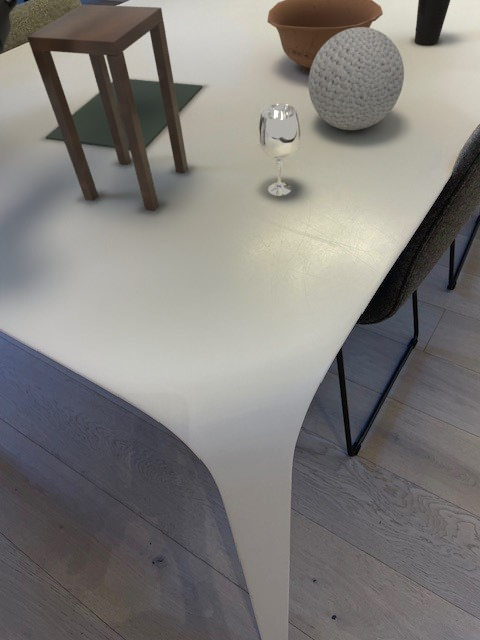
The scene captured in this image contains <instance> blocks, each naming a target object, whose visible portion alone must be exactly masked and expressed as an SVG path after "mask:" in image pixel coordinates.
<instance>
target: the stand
mask: <svg viewBox="0 0 480 640" xmlns="http://www.w3.org/2000/svg"><path fill="white" fill-rule="evenodd" d="M148 33H149V35H150V36H149V37H150V39H151V45H152V51H153V56H154V62H155V67H156V73H157V77H158V82H159V84H160V89H161V94H162V100H163V105H164V110H165V116H166V121H167V126H166V127H167V131H168V137H169V142H170V147H171V153H172V159H173V163H174V168H175V169H174V170H175V172H176V173H179V174H185V173H186V172H187V171H188V169H189V166H188V160H187V154H186V148H185V142H184V136H183V129H182V124H181V123H182V122H181V118H180V112H179V111H178V105H177V99H176V93H175V87H174V83H175V82H174V76H173V70H172V69H173V68H172V64H171V58H170V52H169V51H170V50H169V47H168V39H167V34H166V33H167V32H166V27H165V22H164V17H163V9H162V7H156V6H128V5H103V4H80V5H79V6H77V7H75V8H73V9H72V10H70V11H68V12H67V13H64V14H63V15H62V16H60V17H58V18H56V19H54V20H53V21H52V22H50V23H48V24H46V25H45V26H43V27H41V28H39V29H37V30H36V31H34V32H32V33H31V34H29V35H27V37H26V38H27V41H28V44H29V47H30V49H31V53H32V55H33V58H34V61H35V63H36V66H37V70H38V72H39V75H40V77H41V78H40V79H41V81H42V84H43V86H44V88H45V92H46V95H47V97H48V100H49V102H50V105H51V108H52V111H53V113H54V117H55V119H56V122H57V125H58V126H59V128H60V131H61V134H62V136H63V139H64V141H63V142H64V144H65V145H64V146H65V147H66V150H67V153H68V156H69V159H70V161H71V164H72V167H73V170H74V172H75V175H76V178H77V181H78V184H79V186H80V189H81V192H82V195H83V198H84V200H85V201H92V202H94V201H95V200H96V198H98V196H99V193H98V191H97V188H96V185H95V182H94V178H93V176H92V172H91V169H90V166H89V163H88V160H87V158H86V154H85V152H84V148H83V144H81V142H80V139H79V136H78V133H77V130H76V127H75V124H74V121H73V118H72V115H73V114H72V112H71V109H70V106H69V103H68V99H67V97H66V94H65V90H64V89H63V85H62V82H61V79H60V75H59V73H58V70H57V67H56V63H55V61H54V58H53V55H52V52H56V53H69V54H82V55H83V54H84V55H88V57H89V61H90V65H91V67H92V72H93V75H94V78H95V82H96V86H97V89H98V93H100V97H101V100H102V104H103V107H104V111H105V114H106V118H107V122H108V125H109V129H110V132H111V136H112V139H113V143H114V147H115V148H114V150H115V153H116V158H117V160H118V165H122V166H123V165H125V166H127V165H129V163H130V162H131V161H132V162H133V167H134V171H135V175H136V179H137V182H138V186H139V190H140V194H141V198H142V201H143V206H144V209H145V210H146V211H148V212H149V211H151V212H155V211H156V210H157V208H158V207H159V206H160V205H159V202H158V196H157V192H156V187H155V184H154V183H155V182H154V179H153V175H152V171H151V167H150V166H151V165H150V162H149V157H148V153H147V147H146V148H145V144H144V140H143V135H142V131H141V127H140V122H139V118H138V114H137V109H136V105H135V100H134V96H133V92H132V87H131V83H130V79H131V78H130V75H129V70H128V67H127V61H126V57H125V53H124V51H126V50H127V49H128V48H129V47H131V46H132V45H133V44H135V43H136V42H137V41H139V40H140V39H141V38H142V37H145V35H146V34H148ZM106 61H107V62H106ZM109 72H110V73H109ZM110 76H111V77H110ZM112 82H113V84H114V88H115V92H116V96H117V100H118V104H119V108H120V112H121V116H122V120H123V124H124V127H125V131H126V135H127V139H128V143H129V147H130V150H128V146H127V142H126V138H125V135H124V131H123V127H122V123H121V119H120V115H119V111H118V107H117V104H116V100H115V96H114V92H113V88H112V84H111V83H112ZM130 154H131V155H130Z"/></svg>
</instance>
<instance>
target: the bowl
mask: <svg viewBox="0 0 480 640" xmlns="http://www.w3.org/2000/svg"><path fill="white" fill-rule="evenodd" d="M383 13H384V12H383V9H382V7H381V5H379V4H378V3H376V1H374V0H281V1H279V2H277V3H276V4H275V5H273V6H272V8H271V9H269V10H268V13H267V23H268V24H270V25H271V26H272V27H274V28H275V29H276V30H277V33H278V36H279V39H280V44H281V46H282V49H283V53H284V54H285V55H286V56H287V57H288V58H289V59H290V60H292V61H293V62H294V63H295V64H297V65H299V69H300V71H301V72H302V73H304V74H307V75H309V74H310V70H311V66H312V64H313V61H314V59H315V57H316V55H317V53H318V51H319V50H320V49H321V47H322V46H323V45H324V44H325V43H326V42H327V41H328V40H329V39H330V38H332V37H333V36H335V35H336V34H338V33H340V32H342V31H344V30H347V29H350V28H356V27H367V28H371V25H372V23H373V22H376V21H377V20H378V19H379V18H380V17H381V16H383Z"/></svg>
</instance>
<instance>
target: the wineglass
mask: <svg viewBox="0 0 480 640" xmlns="http://www.w3.org/2000/svg"><path fill="white" fill-rule="evenodd" d="M300 126H301V125H300V121H299V116H298V112H297V109H296V107H295V106H293V105H291V104H288V103H273V104H269V105H266V106H264V107H263V108H262V109H261V111H260V116H259V120H258V126H257V142H258V146H259V149H260V151H261V152H262V153H263V154H264V155H265V156H267V157H268V158H271V159H275V165H276V170H277V182H274V183H272V184H271V185H269V186H268V188H267V191H268V193H269V194H270V195H273V196H277V197H278V196H279V197H281V196H285V195H288V194H290V193H291V192H292V186H291V185H290V184H288V183H287V182H282V168H283V164H284V161H283V159H285V158H288V157H290V156H292V155H294V154H295V152H296V151H297V149H298V148H299V145H300V141H301V127H300Z"/></svg>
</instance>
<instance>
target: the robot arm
mask: <svg viewBox="0 0 480 640" xmlns="http://www.w3.org/2000/svg"><path fill="white" fill-rule="evenodd" d="M18 2H19V0H0V54H1V53H3V51H4V49H5V46H6V44H7V43H8V40H9V37H10V35H11V31H12V25H11V17H10V14H11V12H12V11H13V9H14V8H15V7H16V6H17V5H18Z"/></svg>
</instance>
